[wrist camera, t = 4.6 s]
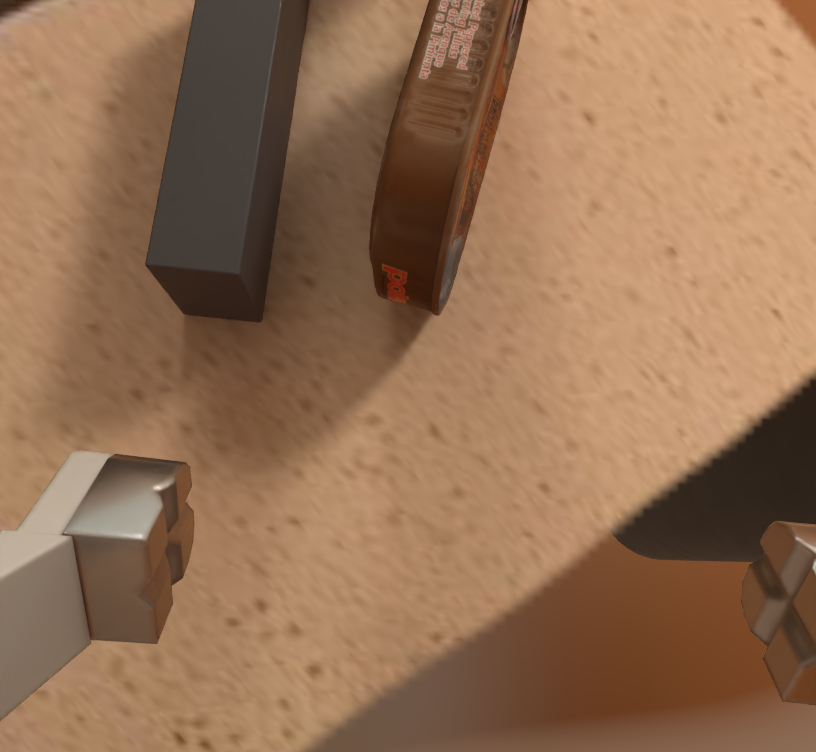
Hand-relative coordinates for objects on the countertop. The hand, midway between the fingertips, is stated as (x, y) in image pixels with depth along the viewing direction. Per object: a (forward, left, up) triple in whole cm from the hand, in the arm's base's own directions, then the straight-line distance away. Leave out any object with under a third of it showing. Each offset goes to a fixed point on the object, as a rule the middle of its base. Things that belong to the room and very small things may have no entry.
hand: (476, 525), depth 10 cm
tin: (0, -15, -17) cm, 23 cm away
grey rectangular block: (+8, -15, -17) cm, 24 cm away
